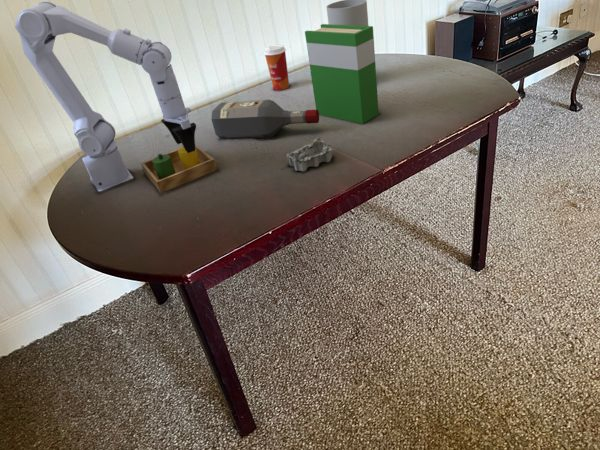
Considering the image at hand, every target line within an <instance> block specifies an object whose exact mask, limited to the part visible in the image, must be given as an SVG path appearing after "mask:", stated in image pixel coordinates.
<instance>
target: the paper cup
mask: <svg viewBox="0 0 600 450" xmlns="http://www.w3.org/2000/svg"><path fill="white" fill-rule="evenodd" d="M286 51H287V49H286V48H285V46H284V45H283V44H274V45H270V46H267V47H265V48H264V52H263V55H264V57H265V59H266V65H267V68H268V72H269V76H270V80H271V83H272V87H273V90H274V91H277V92H278V91H284V90H287V89H289V88H290V80H289V72H288V71H289V70H288V63H287V56H286Z"/></svg>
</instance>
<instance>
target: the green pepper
mask: <svg viewBox="0 0 600 450" xmlns="http://www.w3.org/2000/svg"><path fill="white" fill-rule="evenodd" d="M152 159H153V160H152V162H153V165H154V167H155V170H156V173H157V175H158V178H159V180H161V179H163V178H166V177H168V176H171V175H173V174H176V172H175V169H174V166H173V163H172V160H171V157H170V156H169V155H164V154H162V153H158V154H157V156H155V157H154V158H152Z"/></svg>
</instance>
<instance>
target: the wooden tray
mask: <svg viewBox="0 0 600 450" xmlns="http://www.w3.org/2000/svg"><path fill="white" fill-rule="evenodd" d="M195 148H196V151H197V154H198V157H199V160H200V163H201V164H198V165H196V166H193V167H191V168H188V169H186V170H184V168H183V165H182V162H181V159H180V156H179V153H178V150H179V149H180V148H177V149H175V150H172V151H169V152H166V153H164V154H163V155H169V156H170V157H171V160H172V163H173V166H174V169H175V172H176V174H173V175H171V176H168V177H166V178H163V179H161V180H159V178H158V175H157V173H156V170H155V167H154V165H153V162H152V160H153V159H154V158H151V159H148V160H146V161H143V162H141V163H140V165H141V168H142V170H143V173H144V174H145V176H146V177H147V178H148V179H149V181H150V182H151V183H152V184H153V186H154V187H155V188H156V189H157V190H158V192H159V193H160V194H163V193H164V192H167V191H169V190H171V189H174V188H176V187H179V186H181V185H183V184H186V183H189V182H191V181H194V180H196V179H198V178H201V177H203V176H206V175H208V174H210V173H213V172H215V171H217V170H218V168H217V164H216V161H215V159H214V157H212V156H210V155H209V154H208V153H207V152H205V151H204V150H203V149H202V148H200V147H199V146H198V145H197V144H196V143H195Z"/></svg>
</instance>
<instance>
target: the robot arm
mask: <svg viewBox="0 0 600 450" xmlns="http://www.w3.org/2000/svg"><path fill="white" fill-rule="evenodd" d="M14 28H15V30H16V31H17V33H18V34H19V36H20V37H19V38H20V41H21V45H22V50H23V53H24V55H25V58H26V59H27V60H28V61H29V63H30V64H31V65H32V67H33V68H34V70H35V71H36V73H38V75H39V76H40V78H41V80H42V81H43V82H44V84H45V85H46V86H47V87H48V89H49V90H50V92H51V94H52V95H53V96H54V98H55V99H56V100H57V101H58V103H59V104H60V106H61V107H62V109H63V110H64V111H65V113H66V114H67V116H68V117H69V118H70V120H71V121H72V124H73V135H74V136H75V138H76V139H77V142H78V146H79V149H80V150H81V152H82V153H83V154H85V155H86V156H84V157H82V158H81V160H82V163H83V165H84V166H85V168H86V170H87V173H88V175H89V177H90V178H89V180H90V182H91V184H92V185H94V187H95V188H96V190H97V192H102V191H104V190H108V189H110V188H113V187H115V186H118V185H120V184H122V183H125V182H128V181H130V180H133V179H134V176H133V174H131V172H130V171H129V170H128V168H127V166H126V164H125V161H124V159H123V157H122V154H121V153H120V150H119V147H118V145H117V142H116V141H115V138H116V129H115V127H114V125H112V123H110V122H109V121H107V120H106V119H105V118H104V117H103V115H102V114H101V113H99V112H98V111H94V110H93V109H92V107H91V106H90V104H89V103H88V102H87V100H86V99H85V97H84V95H83V94H82V93H81V91H80V89H79V88H78V87H77V85H76V83H74V80H73V79H72V78H71V76H70V75H69V73H68V72H67V71H66V68H65V67H64V66H63V64H62V63H61V61H60V60H59V59H58V58H57V56H56V54H55V53H54V51H53V50H54V45H55V40H56V38H57V36H60V35H66V34H73V35H77V36H79V37H81V38H85V39H86V40H90V41H93V42H95V43H98V44H100V45H104V46H106V47H107V48H108V49H109V52H110V53H111V54H112V55H114V56H117V57H120V58H122V59H124V60H126V61H129V62H132V63H134V64H136V65H138V66H141V67H142V69H143V70H144V71H145V72H146V73H147V74H148V75H149V78H150V81H151V85H152V87H153V90H154V93H155V97H156V98H157V102H158V105H159V107H160V111H161V113H162V119H160V122H161V123H162V124H163V125H164V127H166V128H167V130H168V131H169V133H170V134H171V137H172V138H173V140H174V141H175V143H176V144H177V145H180V144H181V145H182V147H183V146H184V148H185V150H186V152H187V153H190V152H192V151H195V144H196V140H195V138H196V137H195V134H196V130H197V124H196V123H195V122H191V123H190V120H189V113H192V109H191V108H190V107H186V106H185V102H184V100H183V96H182V92H181V90H180V86H179V83H178V80H177V77H176V75H175V72H174V69H173V65H172V64H171V62H172V52H171V49H170V48H169V47H168V46H167V45H165V44H164V43H163V42H161V41H153V42H152V40H151V39H150V38H147V39H144V38H142V37H139V36H137V35H135V34H133V33H131V32H132V31H131V30H130V29H127V28H124V29H120V28H119V29H116V30H113V31H112V30H110V29H108V28H106V27H103V26H102V25H100V24H97V23H95V22H93V21H91V20H89V19H87V18H85V17H83V16H81V15H79V14H77V13H74V12H72V11H71V10H69V9H68V8H67V7H65V6H62V5H56V4H55V3H53V2H52V1H41V2H39V3H38V4H36V5H34V6H31V7H29V8H24V9H22V10H21V11H19V13H18V14H17V18H16V22H15V25H14Z"/></svg>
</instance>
